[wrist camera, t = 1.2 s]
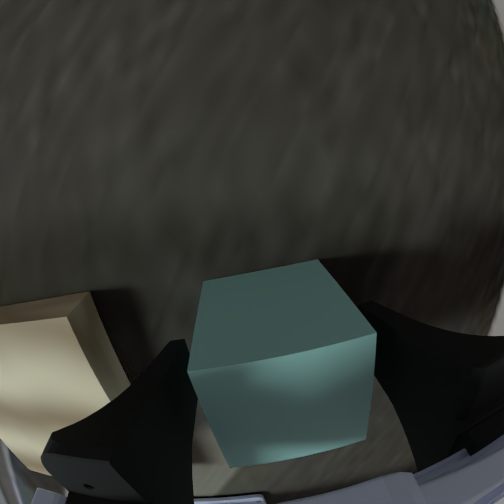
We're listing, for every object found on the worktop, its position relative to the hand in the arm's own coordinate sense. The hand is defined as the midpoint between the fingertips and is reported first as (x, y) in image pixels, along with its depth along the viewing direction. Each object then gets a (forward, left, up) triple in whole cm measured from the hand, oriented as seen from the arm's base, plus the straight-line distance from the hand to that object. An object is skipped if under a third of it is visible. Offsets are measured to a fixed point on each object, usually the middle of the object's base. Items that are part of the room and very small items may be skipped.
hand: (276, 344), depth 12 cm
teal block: (0, 0, -2) cm, 2 cm away
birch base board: (-4, +15, -2) cm, 16 cm away
